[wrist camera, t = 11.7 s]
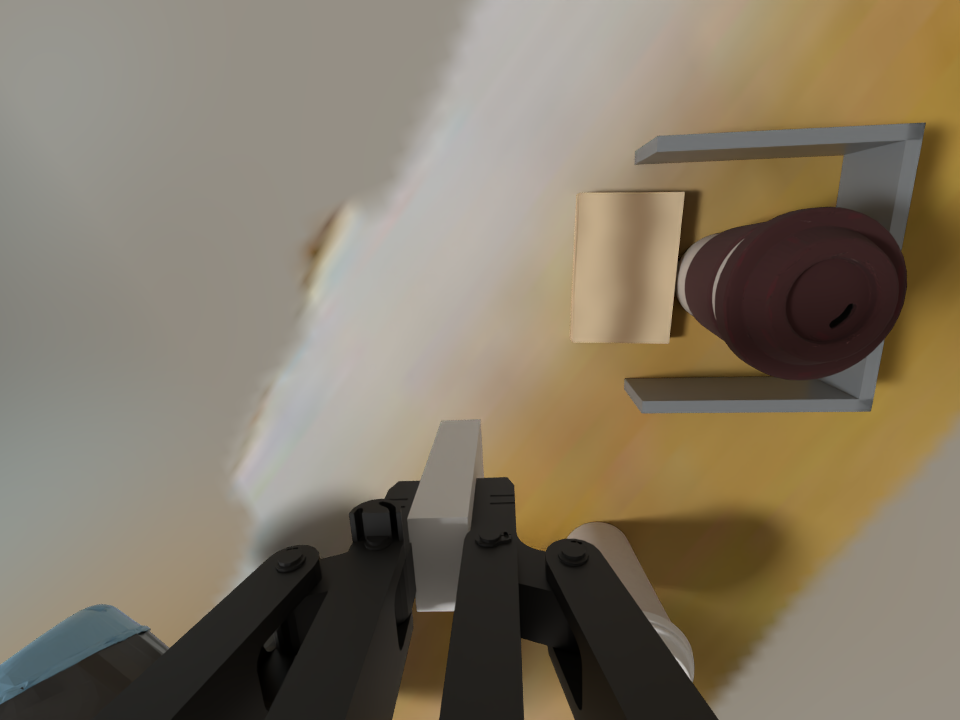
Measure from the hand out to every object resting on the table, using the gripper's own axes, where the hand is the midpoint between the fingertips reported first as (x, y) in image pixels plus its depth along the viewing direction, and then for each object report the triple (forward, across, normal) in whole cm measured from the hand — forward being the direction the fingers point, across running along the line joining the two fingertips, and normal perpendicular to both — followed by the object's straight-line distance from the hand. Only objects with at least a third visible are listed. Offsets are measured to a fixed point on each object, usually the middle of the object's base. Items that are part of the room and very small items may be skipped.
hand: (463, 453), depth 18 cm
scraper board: (+25, +12, +5) cm, 28 cm away
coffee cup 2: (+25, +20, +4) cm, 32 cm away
